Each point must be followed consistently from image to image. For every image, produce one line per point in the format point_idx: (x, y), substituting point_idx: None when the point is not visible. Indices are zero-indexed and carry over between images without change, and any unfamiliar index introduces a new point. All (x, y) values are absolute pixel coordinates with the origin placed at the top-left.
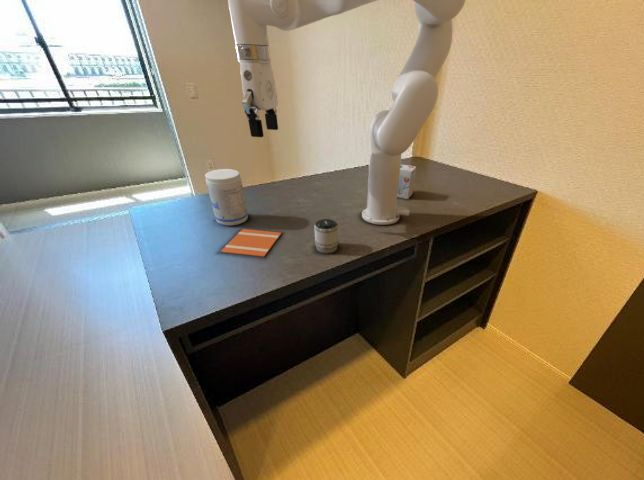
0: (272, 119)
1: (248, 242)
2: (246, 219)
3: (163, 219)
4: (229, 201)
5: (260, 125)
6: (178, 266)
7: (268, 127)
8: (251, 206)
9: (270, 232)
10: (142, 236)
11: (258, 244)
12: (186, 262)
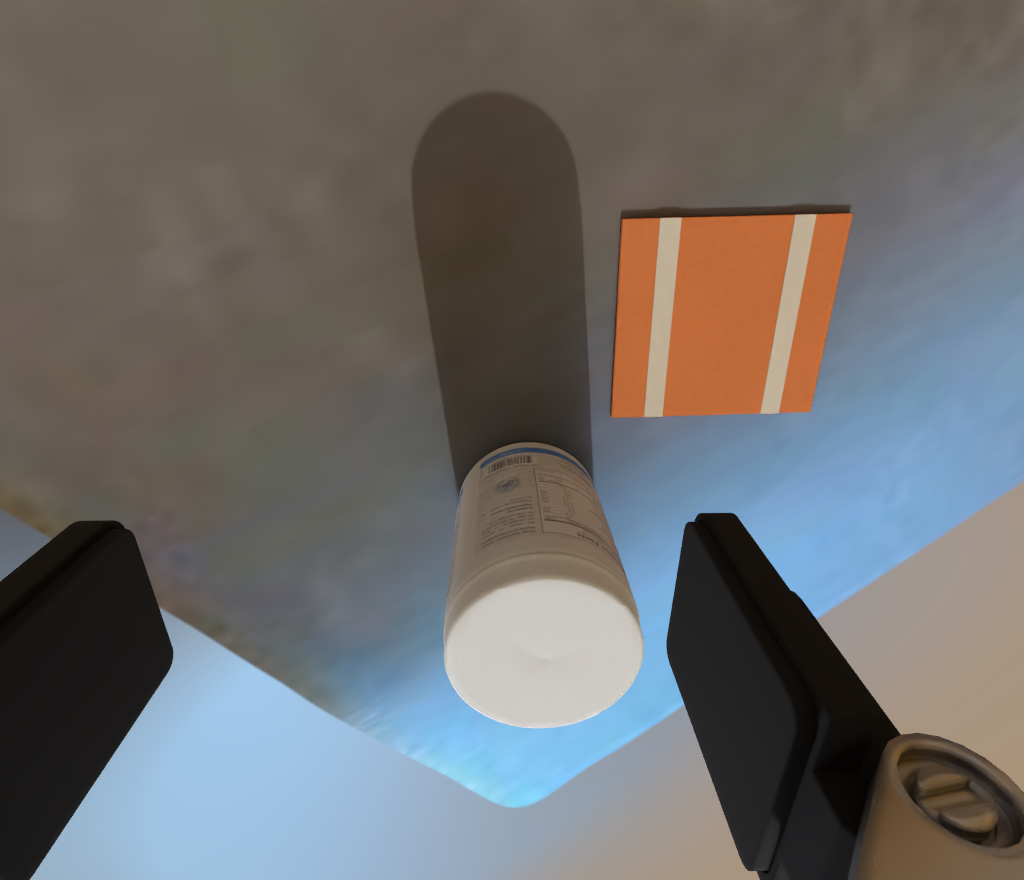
0: (28, 699)
1: (733, 337)
2: (524, 442)
3: None
4: (606, 527)
5: (817, 637)
6: (899, 494)
7: (156, 656)
8: (365, 488)
9: (629, 276)
10: None
11: (749, 284)
12: (874, 485)
